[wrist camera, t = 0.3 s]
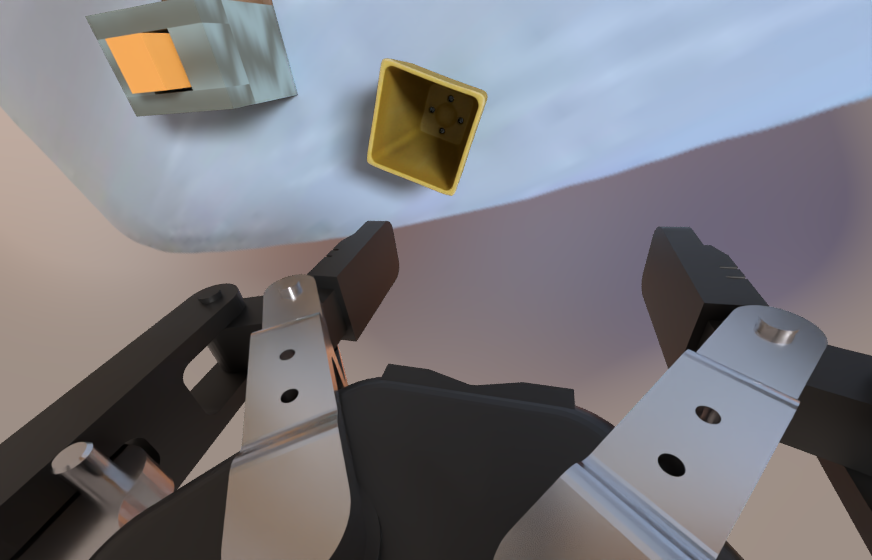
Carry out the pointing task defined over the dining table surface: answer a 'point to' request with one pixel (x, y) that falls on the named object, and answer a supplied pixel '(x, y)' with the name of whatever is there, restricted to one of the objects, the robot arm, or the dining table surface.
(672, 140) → the dining table surface
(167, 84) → the button
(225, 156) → the dining table surface
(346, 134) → the dining table surface
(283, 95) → the rail rig
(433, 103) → the flower pot
